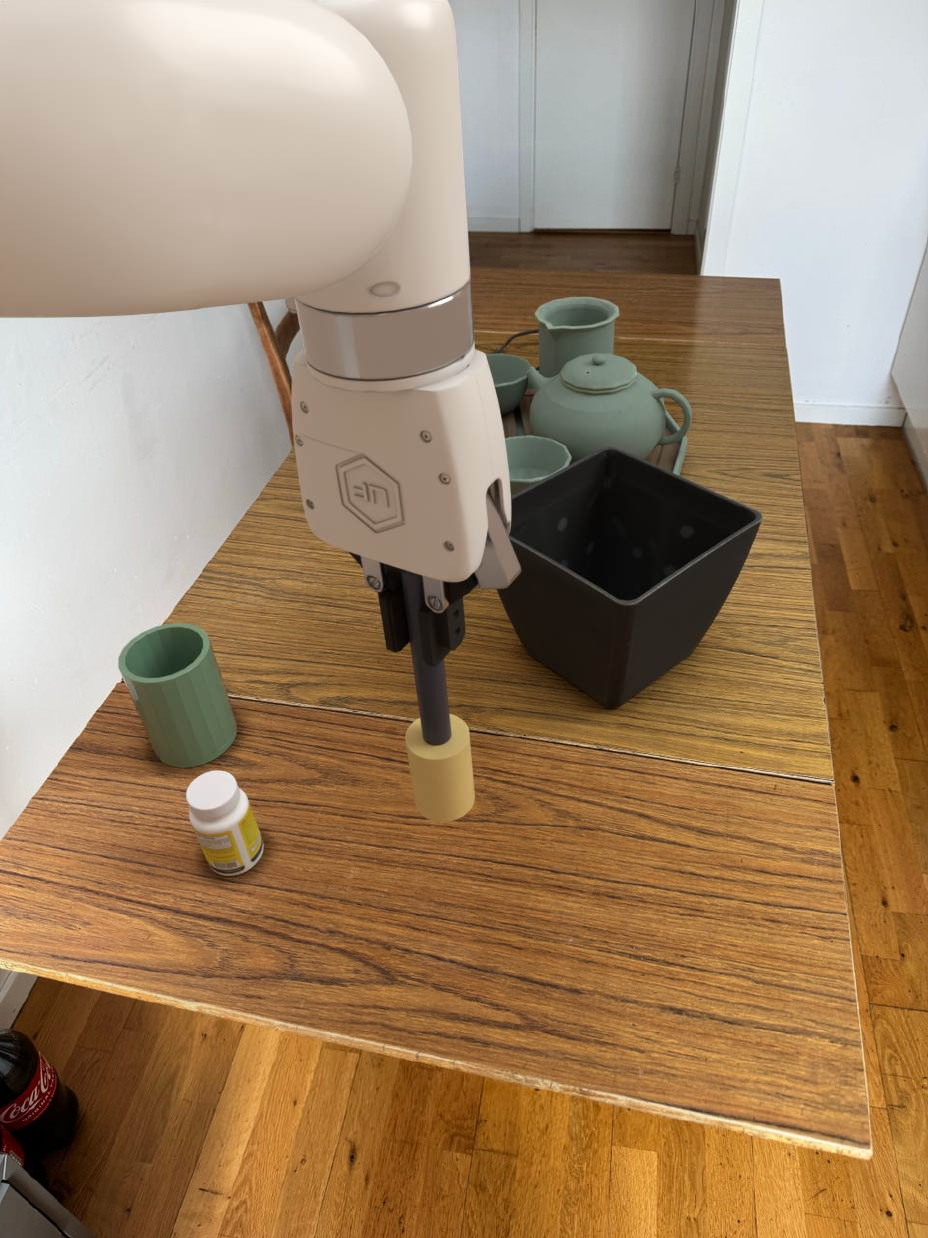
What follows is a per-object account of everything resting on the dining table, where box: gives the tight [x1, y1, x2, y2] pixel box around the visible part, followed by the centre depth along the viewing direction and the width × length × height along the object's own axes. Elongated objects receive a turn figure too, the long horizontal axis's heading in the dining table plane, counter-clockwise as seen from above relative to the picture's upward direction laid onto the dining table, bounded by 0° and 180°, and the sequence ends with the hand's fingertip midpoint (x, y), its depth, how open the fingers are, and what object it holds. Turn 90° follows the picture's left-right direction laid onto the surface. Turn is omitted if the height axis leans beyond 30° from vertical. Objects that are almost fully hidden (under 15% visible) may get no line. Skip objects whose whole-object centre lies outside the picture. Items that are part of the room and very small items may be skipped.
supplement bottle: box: [185, 769, 264, 877], centre depth 73 cm, size 5×5×8 cm
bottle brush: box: [400, 569, 476, 823], centre depth 53 cm, size 4×4×19 cm
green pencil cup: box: [117, 622, 238, 769], centre depth 83 cm, size 8×8×11 cm
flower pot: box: [496, 446, 763, 709], centre depth 86 cm, size 19×19×17 cm
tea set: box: [486, 296, 693, 496], centre depth 117 cm, size 40×40×16 cm
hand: (425, 642), depth 50 cm, fingers closed on bottle brush
